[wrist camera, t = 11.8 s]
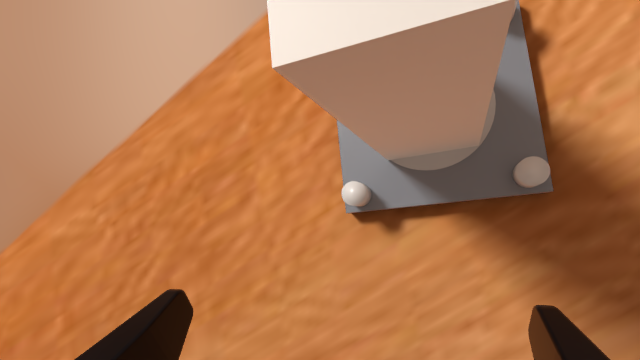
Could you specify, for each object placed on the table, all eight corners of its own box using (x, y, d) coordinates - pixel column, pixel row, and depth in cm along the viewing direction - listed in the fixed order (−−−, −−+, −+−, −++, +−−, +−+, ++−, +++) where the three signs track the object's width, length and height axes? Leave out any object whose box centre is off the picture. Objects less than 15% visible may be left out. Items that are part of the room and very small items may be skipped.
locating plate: (514, 2, 20) (521, -25, 18) (548, 192, 19) (561, 188, 17) (334, 52, 24) (321, 35, 22) (350, 213, 23) (338, 212, 20)
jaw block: (464, 59, 20) (472, -230, 7) (479, 145, 19) (515, -2, 6) (378, 80, 22) (257, -120, 9) (387, 160, 21) (272, 68, 8)
